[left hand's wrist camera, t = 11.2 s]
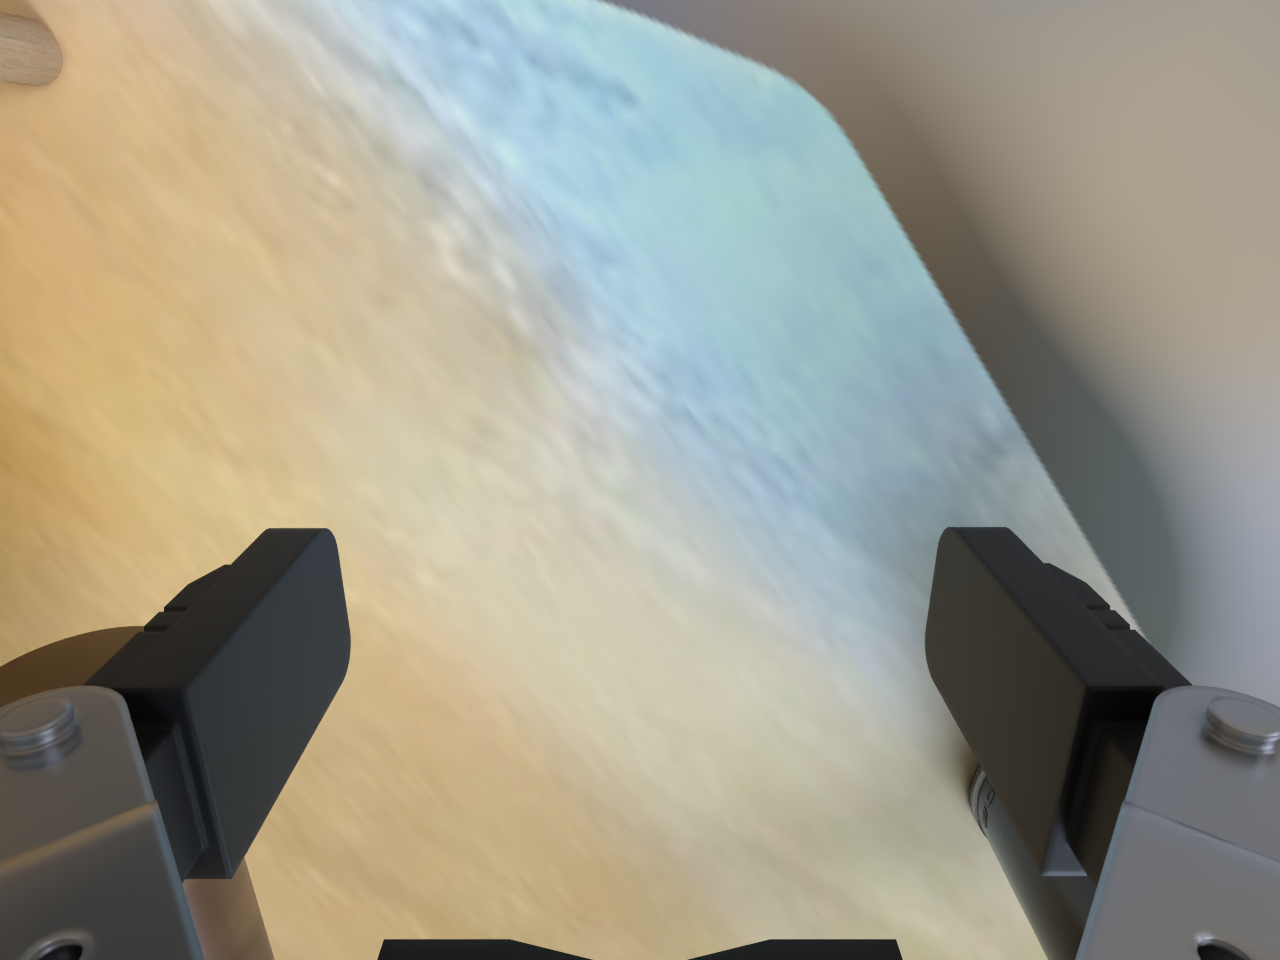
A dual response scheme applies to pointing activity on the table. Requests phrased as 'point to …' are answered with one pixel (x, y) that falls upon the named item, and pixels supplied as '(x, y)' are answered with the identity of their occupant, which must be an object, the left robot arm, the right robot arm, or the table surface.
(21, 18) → the planter
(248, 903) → the rod
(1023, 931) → the table surface
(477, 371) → the table surface
